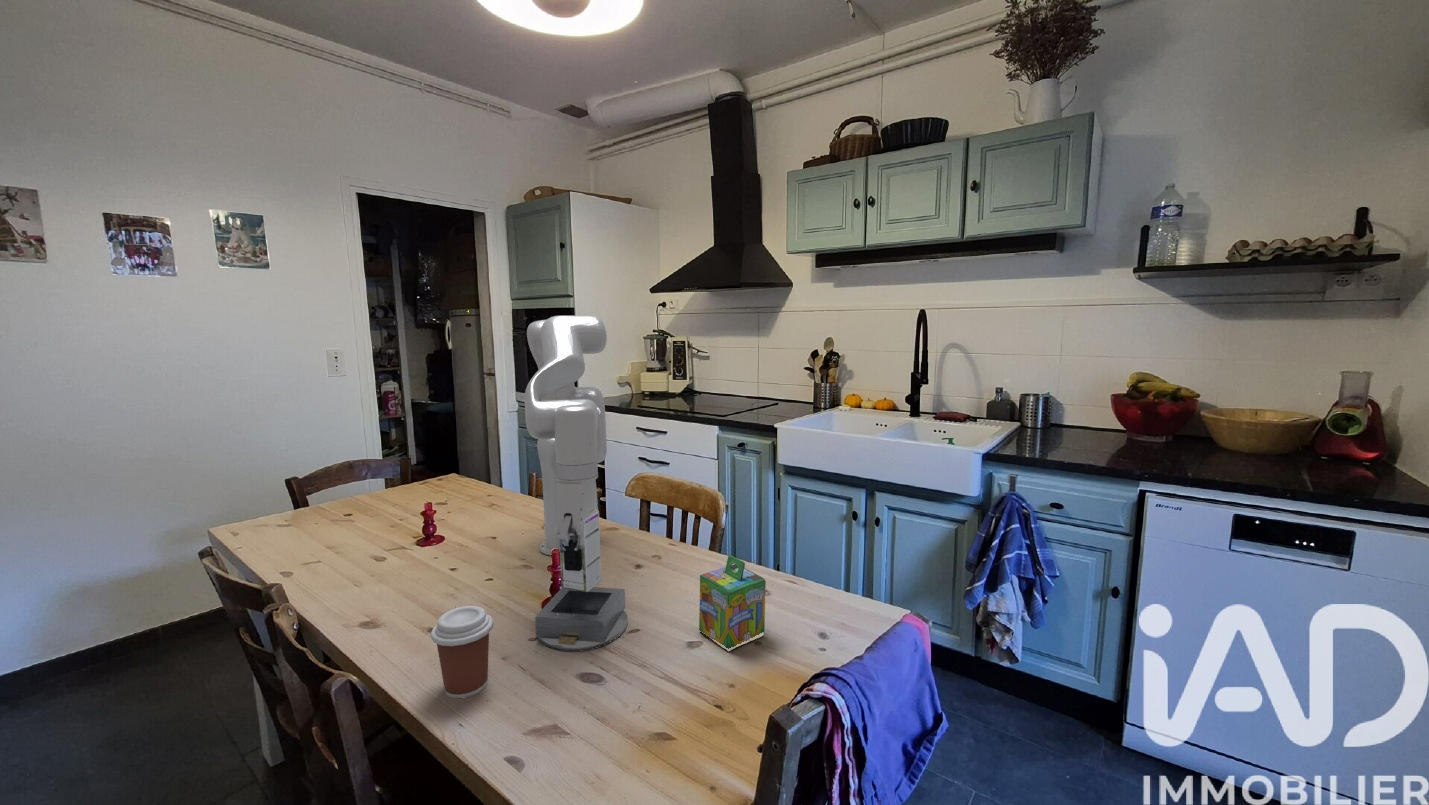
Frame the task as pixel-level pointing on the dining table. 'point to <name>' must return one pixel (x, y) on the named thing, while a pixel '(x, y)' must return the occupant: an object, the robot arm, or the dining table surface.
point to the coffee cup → (463, 649)
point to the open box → (582, 619)
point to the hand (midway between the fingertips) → (580, 561)
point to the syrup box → (585, 557)
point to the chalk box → (732, 603)
